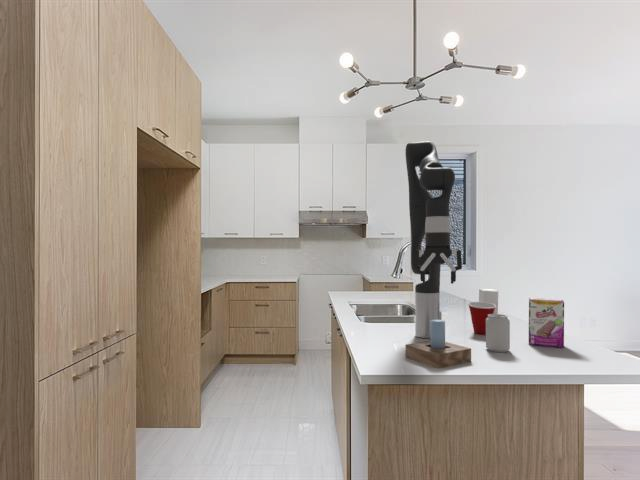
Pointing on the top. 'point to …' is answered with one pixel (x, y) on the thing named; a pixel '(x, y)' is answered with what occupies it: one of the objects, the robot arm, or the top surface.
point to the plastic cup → (480, 315)
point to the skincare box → (489, 297)
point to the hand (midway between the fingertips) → (437, 283)
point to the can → (497, 333)
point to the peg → (437, 334)
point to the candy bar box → (546, 322)
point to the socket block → (438, 354)
